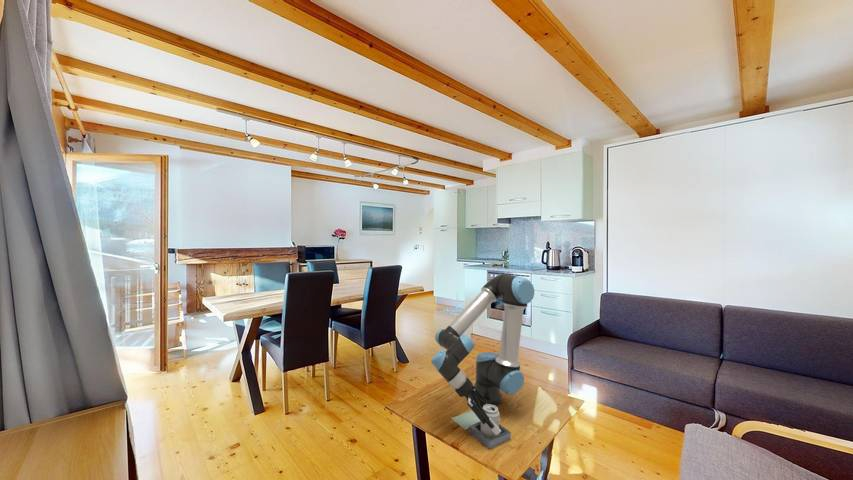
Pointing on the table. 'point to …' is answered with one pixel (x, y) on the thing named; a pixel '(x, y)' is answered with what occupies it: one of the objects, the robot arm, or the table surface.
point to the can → (494, 415)
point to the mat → (466, 419)
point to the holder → (489, 442)
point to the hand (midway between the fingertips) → (498, 427)
